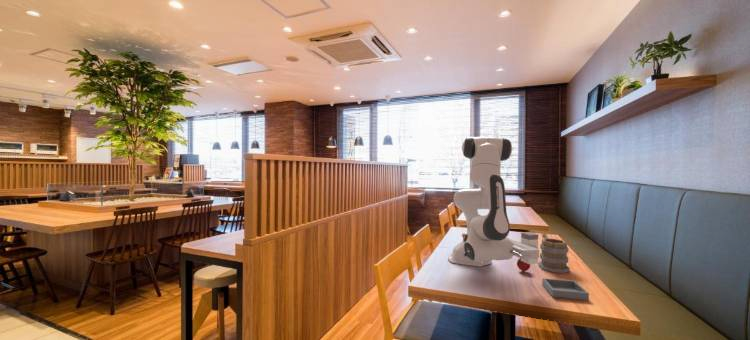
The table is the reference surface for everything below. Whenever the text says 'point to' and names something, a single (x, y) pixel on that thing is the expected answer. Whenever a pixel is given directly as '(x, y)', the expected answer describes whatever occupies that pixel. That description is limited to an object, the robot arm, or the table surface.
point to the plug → (529, 244)
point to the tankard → (553, 255)
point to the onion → (522, 265)
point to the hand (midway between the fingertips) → (531, 246)
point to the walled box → (565, 289)
